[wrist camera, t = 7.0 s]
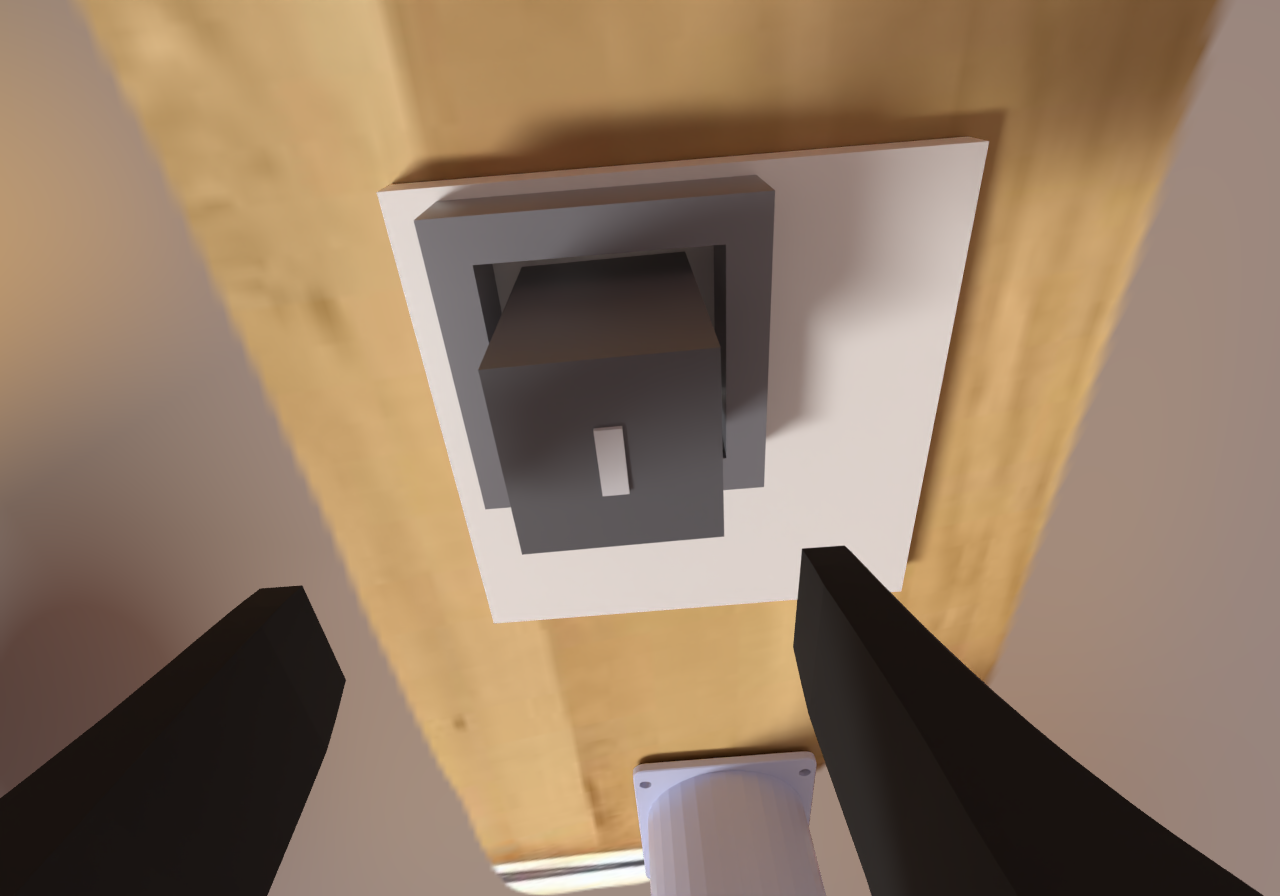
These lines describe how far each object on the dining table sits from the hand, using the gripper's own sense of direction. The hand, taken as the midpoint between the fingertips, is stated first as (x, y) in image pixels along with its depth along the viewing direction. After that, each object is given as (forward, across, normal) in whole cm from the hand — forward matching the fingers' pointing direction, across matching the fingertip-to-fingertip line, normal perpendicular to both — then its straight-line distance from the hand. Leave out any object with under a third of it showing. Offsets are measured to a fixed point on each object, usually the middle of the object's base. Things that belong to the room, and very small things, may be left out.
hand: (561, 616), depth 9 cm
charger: (+9, -1, -1) cm, 9 cm away
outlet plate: (+10, -3, +2) cm, 11 cm away
